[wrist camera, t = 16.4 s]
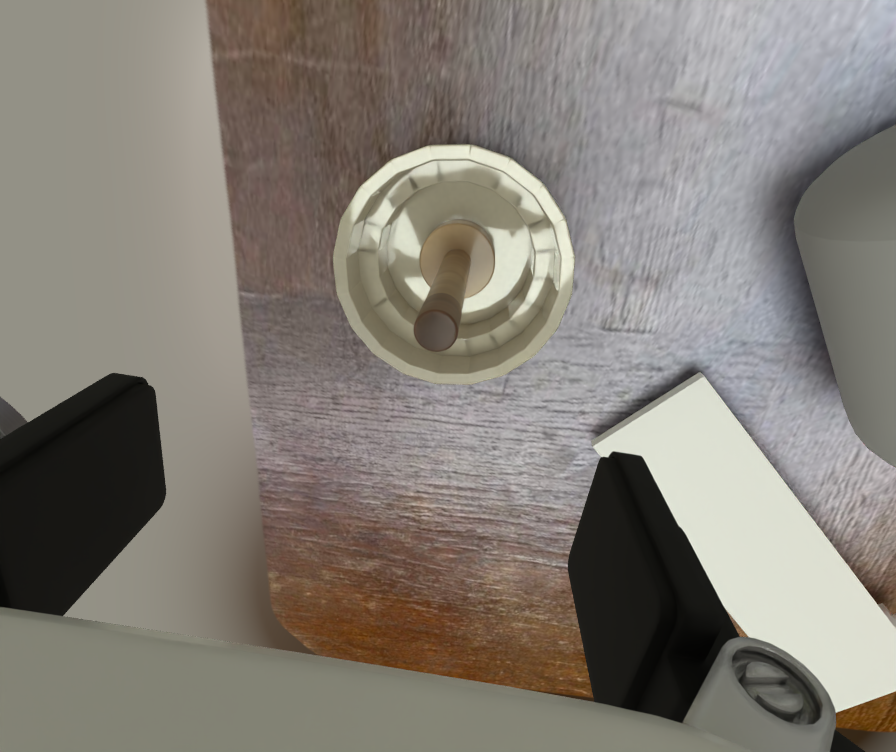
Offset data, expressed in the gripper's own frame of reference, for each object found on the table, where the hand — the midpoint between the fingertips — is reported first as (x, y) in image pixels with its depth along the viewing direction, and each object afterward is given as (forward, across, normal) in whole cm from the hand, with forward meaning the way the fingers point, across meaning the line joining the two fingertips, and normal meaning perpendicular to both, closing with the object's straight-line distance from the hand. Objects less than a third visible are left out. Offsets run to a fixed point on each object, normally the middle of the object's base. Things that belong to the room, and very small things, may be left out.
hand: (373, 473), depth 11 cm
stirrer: (+23, -1, 0) cm, 23 cm away
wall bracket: (+23, -25, +16) cm, 38 cm away
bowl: (+23, -1, 0) cm, 23 cm away
